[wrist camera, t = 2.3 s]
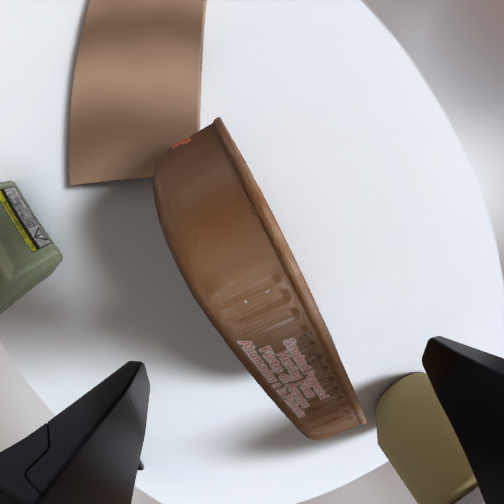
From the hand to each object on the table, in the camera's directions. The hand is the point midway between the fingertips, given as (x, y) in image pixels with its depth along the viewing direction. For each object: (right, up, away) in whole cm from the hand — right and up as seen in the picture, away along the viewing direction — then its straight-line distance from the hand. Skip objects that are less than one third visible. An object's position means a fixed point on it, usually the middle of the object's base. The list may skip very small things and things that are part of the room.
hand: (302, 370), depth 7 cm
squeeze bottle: (+12, -10, +13) cm, 20 cm away
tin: (-1, +3, +8) cm, 9 cm away
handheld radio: (-16, +5, +6) cm, 18 cm away
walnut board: (-8, +15, +4) cm, 17 cm away
